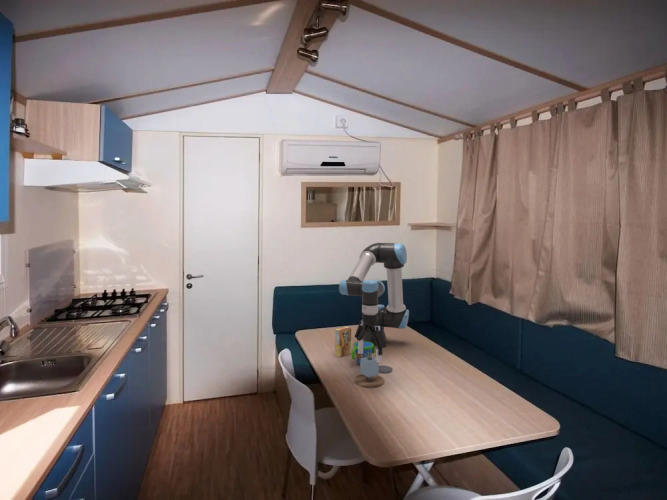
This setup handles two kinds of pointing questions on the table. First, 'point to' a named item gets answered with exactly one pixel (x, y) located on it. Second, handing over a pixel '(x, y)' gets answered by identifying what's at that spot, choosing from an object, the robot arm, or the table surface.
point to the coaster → (385, 369)
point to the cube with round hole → (369, 366)
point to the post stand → (369, 381)
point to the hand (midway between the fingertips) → (369, 357)
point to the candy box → (342, 341)
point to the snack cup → (367, 350)
